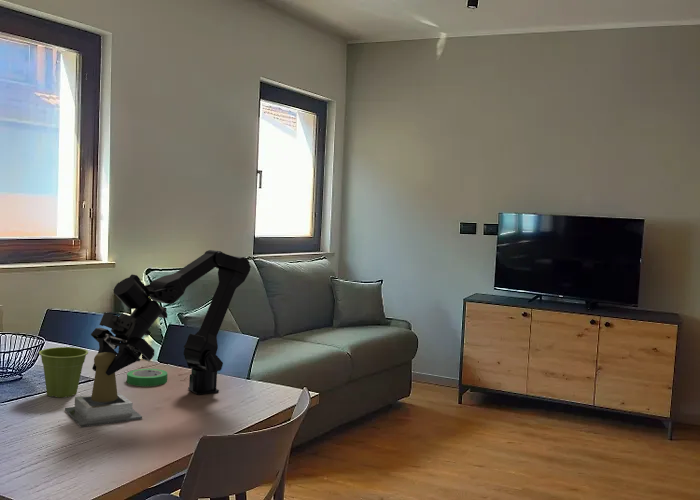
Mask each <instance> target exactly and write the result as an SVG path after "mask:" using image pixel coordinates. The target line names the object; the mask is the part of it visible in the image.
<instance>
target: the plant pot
mask: <svg viewBox="0 0 700 500" xmlns="http://www.w3.org/2000/svg"><path fill="white" fill-rule="evenodd" d="M88 354H89V351H88V349H85V348H81V347H70V346H69V347H67V346H64V347H63V346H62V347H61V346H59V347H50V348H44V349H41V350H40V351H39V352H38V355H39V356H40V357H41V363H42V366H43V376H44V382H45V389H46V395H47V396H48V397H56V398H59V399H60V398H61V399H62V398H70V397H73V396H74V395H77V393H78V389H79V384H80V379H81V374H82V371H83V366H84V363H85V360H86V356H87V355H88Z"/></svg>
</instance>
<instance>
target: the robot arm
mask: <svg viewBox="0 0 700 500" xmlns="http://www.w3.org/2000/svg"><path fill="white" fill-rule="evenodd" d="M215 268H216V269H218V270H217V278H218V284H217V287H216V289H215V292H214V294H213V297H212V299H211V301H210V304H209V305H208V306H209V307H208V308H207V311H206V313H205V316H204V319H203V321H202V324H201V325H200V328H199V330H198V331H197V332H195V334H194V333H189V335H188V337H187V340H186V341H185V342H186V343H185V344H184V345H183V348H184V350H183V356H184V359H185V361H186V364H187V367H188V368H191V373H190V374H189V383H188V384H189V386H188V388H187V389H188V390H189V391H191V392H192V393H194V394H196V395H199V396H200V395H205V394H207V395H208V394H214V393H219V392H220V389H217V383H218V382H217V381H218V372H219V371H222V369H223V366H224V363H223V361H222V360H221V359H220V358H219V357H218V355H217V353H218V352H217V351H218V350H219V349H218V334H219V332H220V329H221V327H222V324H223V322H224V319H225V317H226V314H227V313H228V309H229V307H230V304H231V302H232V300H233V299H232V298H233V296H234V294H235V292H236V289H238V288H239V287H240V286H241V285H242V284H243V283H244V282H245V280H246V279H247V278H248V276H249V274H250V271H251V268H252V267H251V265H250V261H249V259H248V258H246V257H244V256H237V255H231V254H227V253H225V252H223V251H221V250H215V249H209V250H206V251H205V252H204V253H203V254H202V255H201V256H199V257H198V258H196V259H194V260H193V261H191V262H190V263H188V264H187V265H185V266H184V267H182V268H181V269H179V270H177V272H174V273H172V274H167V275H162V276H160V277H158V278H156V279H154V280H152V281H151V282H150V283H149V284H146V285H145V284H144V282H143V281H142V280H141V278H140V277H139V276H138V275H137V274H133V273H132V274H131V275H130V276H129V277H126V278H124V279H122V280H121V281H120V282H119V281H118V283H116V284H115V286H114V288H113V294H114V295H115V296H116V297H117V298H118V299H119V300H120V301H121V302H122V304H123V305H124V306H125V307H126V308H127V309H128V310H133V311H132V312H131V313H130V314H126V313H120V314H119V315H115V314H112V313H109V312H104V313H103V315H102V316H101V319H100V322H99V326H102V327H96V328H94V330H93V331H92V332H91V333H90V336H91V337H92V338H93V339H94V340H96V342H97V343H98V346H99V349H98V352H97V354H98V353H103V352H110V353H114V354H115V355H116V357H115V358H114V360H113V361H112V363H111V364H110V366H109V367H108V369H107V371H106V374H107V375H108V376H109V375H111V374H113V373H115V374H116V372H118V371H120V370H122V369H124V368H125V367H128V366H129V365H132V364H134V363H137V362H140V361H141V359H142V360H143V361H147V362H150V361H152V359H153V358H154V357H155V349H154V348H153V347H152V346H151V345H150V344H149V343H148V341H147V340H146V339H144V336H150V335H151V331H150V329H151V327H152V326H153V324H154V323H155V322H156V321H157V320H158V318H162V319H168V313H167V307H165V306H161V305H160V303H163V304H167V305H172V304H174V303H176V302H177V301H178V300H179V299H180V298H181V297H182V296H183V295H184V293H185V292H186V289H187V288H188V287H190V286H191V285H192V284H193V283H194V282H196V281H198V280H199V279H200V278H202V277H204V276H205V275H207V274H208V273H209V272H211V271H212V270H214V269H215ZM104 327H106V328H104ZM107 328H109V329H110V330H109V329H107ZM117 348H118V351H116V349H117ZM140 357H141V358H140ZM92 370H93V372H96V366H95V364H94V363H93V365H92Z"/></svg>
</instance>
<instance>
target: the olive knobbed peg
mask: <svg viewBox="0 0 700 500" xmlns="http://www.w3.org/2000/svg"><path fill="white" fill-rule="evenodd" d="M115 357H116V355H115V354H114V353H110V352H103V353H98V352H97V354H96V355H95V356H94V358H93V365H94V364H95V366H96V371H94V372H95V374H94V379H93V383H92V384H93V386H92V390H91V391H92V392H91V395H92V396H91V400H93V401H96V402H109V401H114V400H116V399H117V398H118V395H117V392H118V388H117V379H116V372H115V373H113V374H111V375H109V376H108V375H107V374H106V371H107V369H108V367H109V366H110V364H111V363H112V361H113V360H114V358H115Z"/></svg>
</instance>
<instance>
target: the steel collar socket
mask: <svg viewBox="0 0 700 500" xmlns="http://www.w3.org/2000/svg"><path fill="white" fill-rule="evenodd" d="M117 395H118V398H117V399H116V400H114V401H109V402H96V401H93V400H91V396H92V394H89V395H80V396H75V397H74V406H72V407H64V412H66V413H67V415H68V416H70V418H71V419H72V420H73V421H74V422H75V423H76V424H77V425H78V426H80V428H88V427H94V426H99V425H100V426H101V425H110V424H114V423H122V422H129V421H137V420H142V419H143V416H142V415H141V414H140V413H139V412H138V411H136V410H135V409H133V402H132V401H131V400H129V399H128V398H127V397H126V396H125V395H123V394H122V393H120V391H117Z"/></svg>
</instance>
